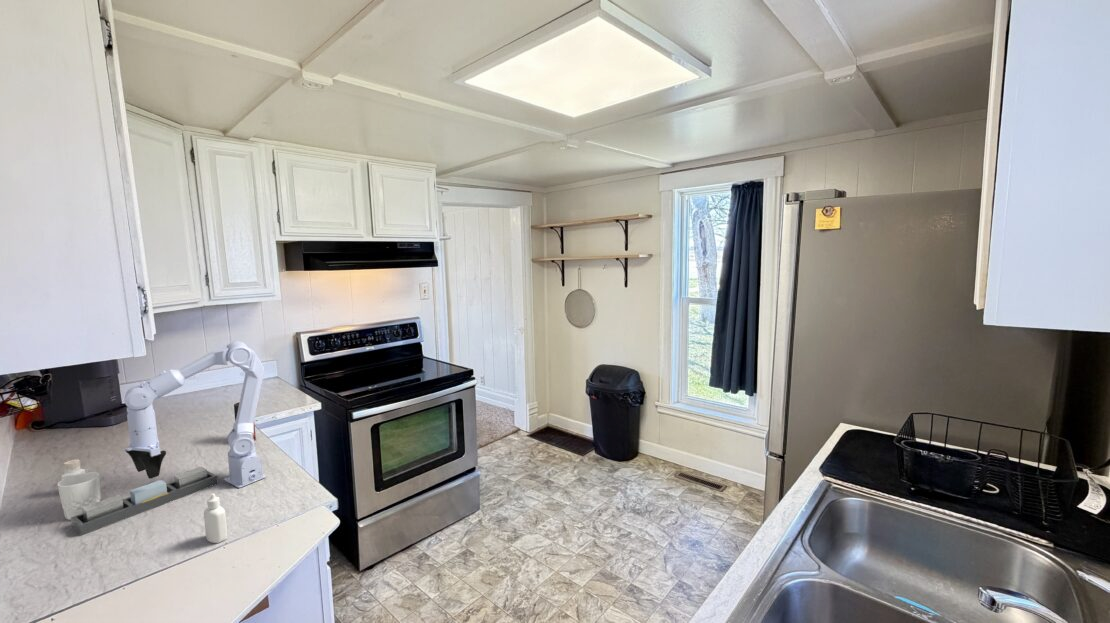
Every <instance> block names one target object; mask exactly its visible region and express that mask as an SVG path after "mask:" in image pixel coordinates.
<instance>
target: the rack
mask: <svg viewBox="0 0 1110 623" xmlns="http://www.w3.org/2000/svg"><path fill="white" fill-rule="evenodd" d="M215 484H216V485H218V484H219V483H218V475H215V474H214V473H212V472H211V471H209V470H208V469H207V468H204V467H203V466H198V467H196V468H194V469H189V470H187V471H184V472H181V473H179V474H175V475H173V481H172V482H167V483H166V486H167V493H164V494H161V495H158V496H156V497H153V498H150V499H147V500H145V501H142V502H141V503H138V504H135V505H133V504H131V497H130V496H129V497H126V498H122V497H121V496H120V495H118V494H116V495H113V496H111V497H108V498H105V499H102V500H100V501H99V502H96V503H93V504H90V505H87V506H84V507H82V512H83V514H80V515H77V516H74V517H71V520H70V521H71V525H72V526H71V527H72V528H73V529H74V531H76V532H77V533H78V534H79V535H81V536H83V535H84V536H85V535H87V534H89V533H92V532H94V531H96V530H99V529H102V528H105V527H107V526H110V525H113V524H115V523H119V522H121V521H123V519H124V520H126V519H128V518H131V517H134V516H136V515H139V514H141V513H144V512H147V511H150V510H152V509H155V508H157V507H160V506H162V505H166V504H168V503H171V502H173V500H174V501H176V500H178V499H181V498H184V497H186V495H187V496H189V495H191V494H194V493H195V494H196V493H197V492H199V491H202V490H204V489H207V487H208V488H210V487H213V486H216V485H215ZM212 485H213V486H212ZM170 501H171V502H170ZM165 503H166V504H165Z"/></svg>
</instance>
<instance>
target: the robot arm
mask: <svg viewBox="0 0 1110 623" xmlns="http://www.w3.org/2000/svg"><path fill="white" fill-rule="evenodd" d="M228 362H229V363H230V364H232V365H233V366H236V367H238V368H239V369H241V370H242V371H243V372H244V374H245V375H244V379H243V384H242V389H241V394H240V398H239V402H240V403H239V402H238V403H239V407H238V412H237V417H236V421H235V420H234V423H233V425H232V429H231V431H230V432H229V433H228V435H227V438H226V440H227V441H226V442H227V443H228V445H229V448H230V449H229V450H228V452H227V459H228V473H229V476H228V477H224V479H223V481H225V482H227V483H229V484H231V485H232V486H234V487H236V488H239V489H240V488H243V487H245V486H248V485H251V484H253V483H255V482H258V481H260V480H263V479H265V478H267V476H266V475H265V474H264V473H263V464H262V459H261V457H259V456H258V455H257V453H256V452H257V450H256V440H255V441H254V439H253V434H254V423H255V419H256V414H257V408H258V404H259V399H260V393H261V390H262V389H261V388H262V384H263V379H264V374H265V367H264V365H263V364H262V362H261V360H260V358H259V356H258V354H257V353H256V352H255V351H254V350H253V348H252V347H250V346H249V345H248V344H246V343H245V342H243V341H241V340H235V341H231V342H229V343H227V345H226V344H224V345H222V346H219V347H217V348H216V349H214V350H212V351H210V352H208V353H207V354H204V355H203V356H201V357H199V358H198V359H195V360H194V361H192V362H190V363H188V364H186V365H184V366H183V367H181V368H180V369H171V368H170V369H168V370H165V369H163V370H161V371H159V374H158V375H156V376H154V377H151V378H150V379H148V380H146V381H144V380H142V381H141V382H139V385H138V384H137V385H134V386H131V387H130V388H129V389H127V391H126V392H125V395H124V400H123V401H124V404H125V405H126V406H127V407H126V412H127V414H126V417H127V420H126V421H127V427H128V434H129V435H128V436H129V442H130V445H129V446H125V447H124V449H125V450H124V451H125V452H126V453H127V454H128V455H129V456H130V458H131V460H132V462H133V464H134V466H135V469H136V470H137V472H138V473H139V472H144V471H145V473H146V477H147V478H148V479H149V480H150V479H154V478H157V477H159V476H160V474H161V473H160V472H161V467H162V464H163V461H164V458H165V456H166V455H167V451H166V450H161V447H160V439H159V437H158V428H157V420H156V419H157V418H156V413H155V412H156V411H155V409H154V405H153V404H154V403H153V402H154V401H155V400H157V399H160V398H163V397H164V396H166V395H168V394H169V393H172V392H173V391H175V390H177V389H179V388H181V387H182V386H184V384H185V381H186V380H187V379H188V378H191V377H192V376H195V375H197V374H199V373H200V372H203V371H205V370H207V369H210V368H211V367H214V366H228Z"/></svg>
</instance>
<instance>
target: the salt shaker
mask: <svg viewBox="0 0 1110 623" xmlns="http://www.w3.org/2000/svg"><path fill="white" fill-rule="evenodd" d="M63 467H64V473H63V474H62V475H61V476H60V479H61V480H63V479H65V478H67V477H70V476H73V475H77V474H81V473H86V469H84V468H81V461H80V459H78V458H77V459H72V460H71V459H70V460H68V461H66V462H64V463H63ZM61 480H60V481H61Z"/></svg>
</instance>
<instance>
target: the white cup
mask: <svg viewBox="0 0 1110 623" xmlns="http://www.w3.org/2000/svg"><path fill="white" fill-rule="evenodd" d="M56 485H57V489H58V490H57V491H58V493H59V494H58V495H59V499H60V503H61V506H62V510H63V514H64V518H65V519H66V520H70V521H71V517H74V516H77V515H80V514H83V512H82V507H84V506H87V505H90V504H93V503H96V502H99V501H101V482H100V473H99V472H96V471H90V472H89V471H88V472H85V473H81V474H77V475H73V476H70V477H67V478H65V479H63V480H60V481H58V482H57V484H56Z"/></svg>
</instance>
